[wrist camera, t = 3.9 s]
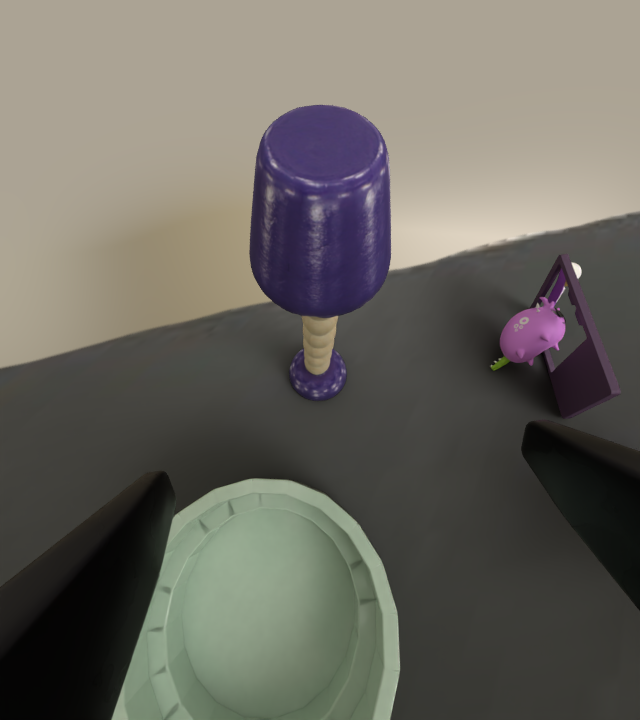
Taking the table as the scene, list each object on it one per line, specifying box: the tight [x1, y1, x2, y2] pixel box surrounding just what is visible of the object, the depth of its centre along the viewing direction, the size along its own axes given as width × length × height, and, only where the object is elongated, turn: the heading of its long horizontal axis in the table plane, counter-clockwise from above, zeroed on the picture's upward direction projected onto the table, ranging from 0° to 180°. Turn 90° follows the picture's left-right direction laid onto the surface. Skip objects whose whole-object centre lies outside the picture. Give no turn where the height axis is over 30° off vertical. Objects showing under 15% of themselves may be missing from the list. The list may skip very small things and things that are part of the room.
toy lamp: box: [250, 105, 391, 401], centre depth 14 cm, size 5×5×17 cm
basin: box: [112, 478, 400, 720], centre depth 15 cm, size 12×12×4 cm
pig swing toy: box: [490, 254, 621, 419], centre depth 20 cm, size 7×5×9 cm
